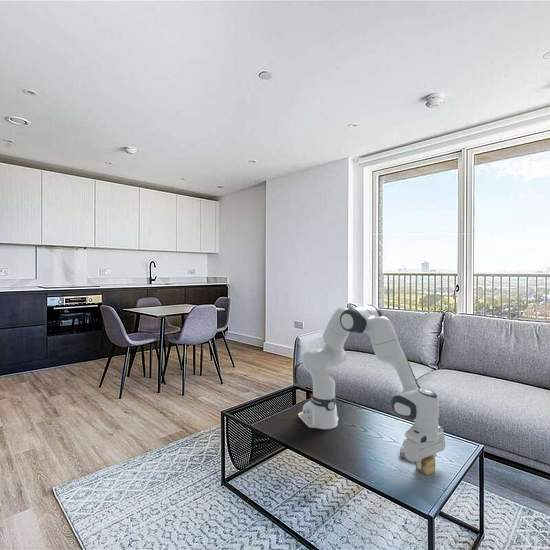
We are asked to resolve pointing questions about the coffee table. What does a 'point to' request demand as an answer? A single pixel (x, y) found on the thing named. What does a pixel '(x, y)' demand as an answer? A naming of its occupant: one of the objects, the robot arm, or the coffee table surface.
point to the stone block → (403, 450)
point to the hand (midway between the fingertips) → (425, 465)
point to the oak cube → (427, 465)
